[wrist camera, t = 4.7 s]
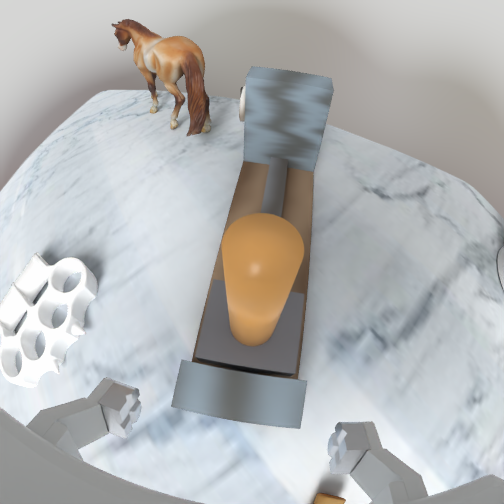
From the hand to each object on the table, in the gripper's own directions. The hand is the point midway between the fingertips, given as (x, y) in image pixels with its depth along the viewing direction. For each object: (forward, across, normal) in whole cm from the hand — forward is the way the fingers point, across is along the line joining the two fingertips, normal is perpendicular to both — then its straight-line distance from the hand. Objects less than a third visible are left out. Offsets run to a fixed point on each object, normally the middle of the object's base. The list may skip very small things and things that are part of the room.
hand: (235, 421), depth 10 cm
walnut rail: (+24, 0, -1) cm, 24 cm away
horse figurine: (+41, +23, -18) cm, 51 cm away
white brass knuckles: (+14, +25, +10) cm, 30 cm away
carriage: (+15, 0, +4) cm, 15 cm away
